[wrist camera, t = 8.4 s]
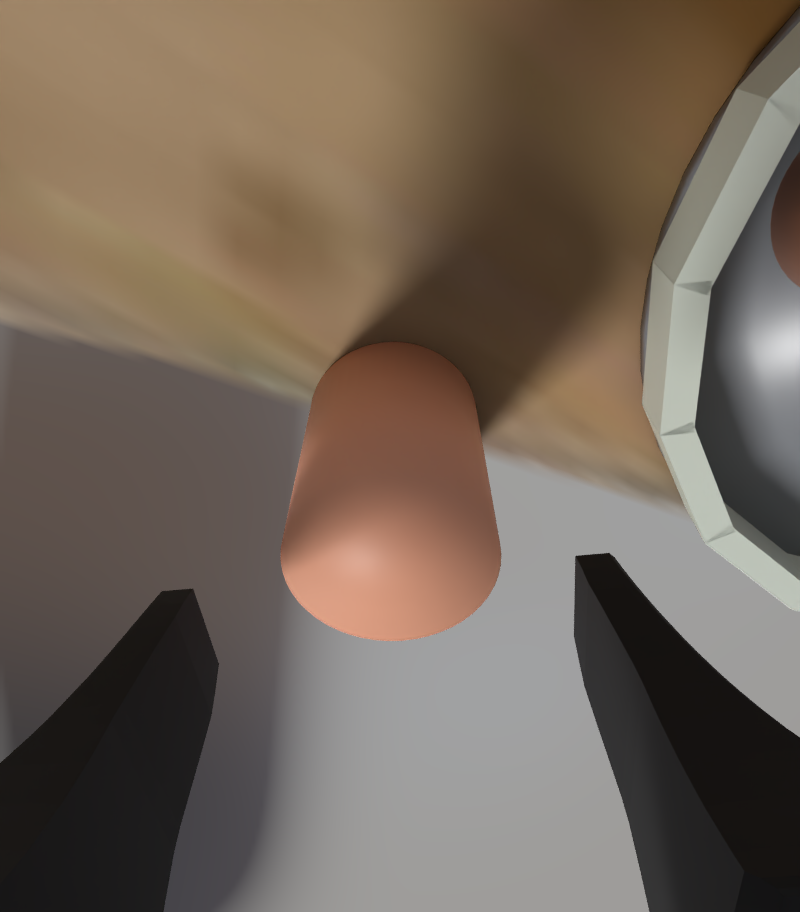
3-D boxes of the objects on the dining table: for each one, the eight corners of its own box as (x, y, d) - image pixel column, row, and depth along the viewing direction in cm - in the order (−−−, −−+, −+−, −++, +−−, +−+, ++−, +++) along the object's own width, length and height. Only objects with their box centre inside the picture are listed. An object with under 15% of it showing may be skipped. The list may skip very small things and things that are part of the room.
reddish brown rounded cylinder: (471, 333, 19) (496, 460, 14) (480, 479, 21) (504, 633, 16) (296, 350, 19) (260, 481, 14) (324, 492, 22) (301, 648, 17)
